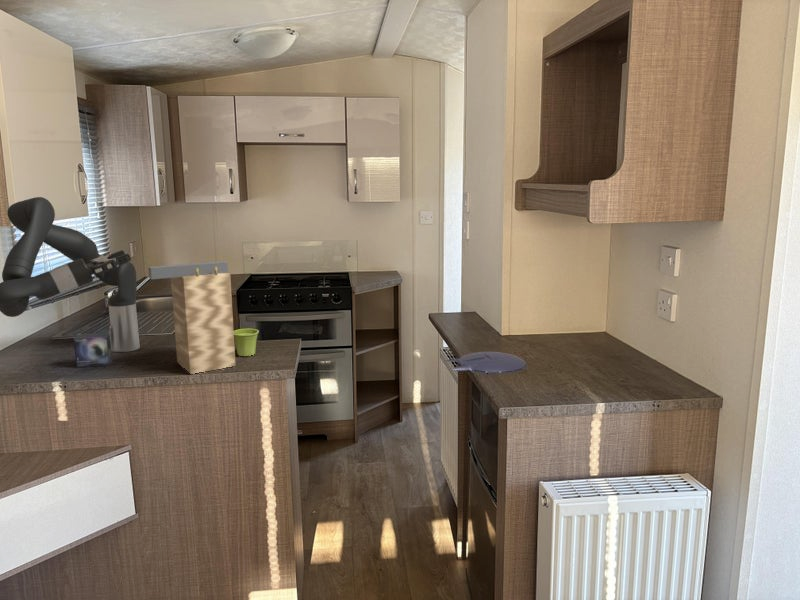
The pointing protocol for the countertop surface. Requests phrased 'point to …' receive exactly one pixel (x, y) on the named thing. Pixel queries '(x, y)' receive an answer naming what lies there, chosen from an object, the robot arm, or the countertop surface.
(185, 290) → the oak block
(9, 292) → the robot arm
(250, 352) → the plant pot
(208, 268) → the bar
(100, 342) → the small box
